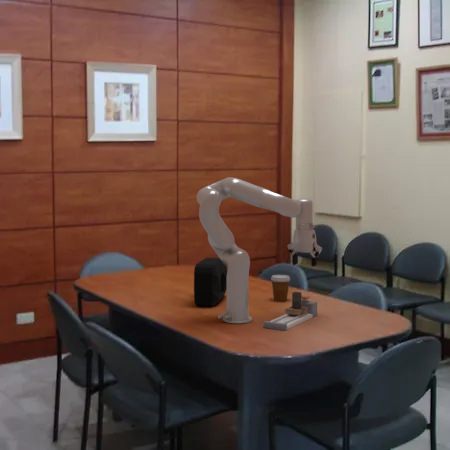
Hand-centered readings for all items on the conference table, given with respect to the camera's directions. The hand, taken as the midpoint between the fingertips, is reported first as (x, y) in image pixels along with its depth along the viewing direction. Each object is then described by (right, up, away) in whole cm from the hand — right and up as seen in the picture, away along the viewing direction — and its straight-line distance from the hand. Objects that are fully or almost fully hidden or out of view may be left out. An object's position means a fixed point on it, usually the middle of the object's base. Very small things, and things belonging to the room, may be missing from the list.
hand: (304, 265), depth 316 cm
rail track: (-7, -24, -8) cm, 26 cm away
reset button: (0, -16, +3) cm, 17 cm away
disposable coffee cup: (-8, -19, +34) cm, 40 cm away
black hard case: (-41, -20, +32) cm, 56 cm away
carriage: (-4, -21, -3) cm, 21 cm away
